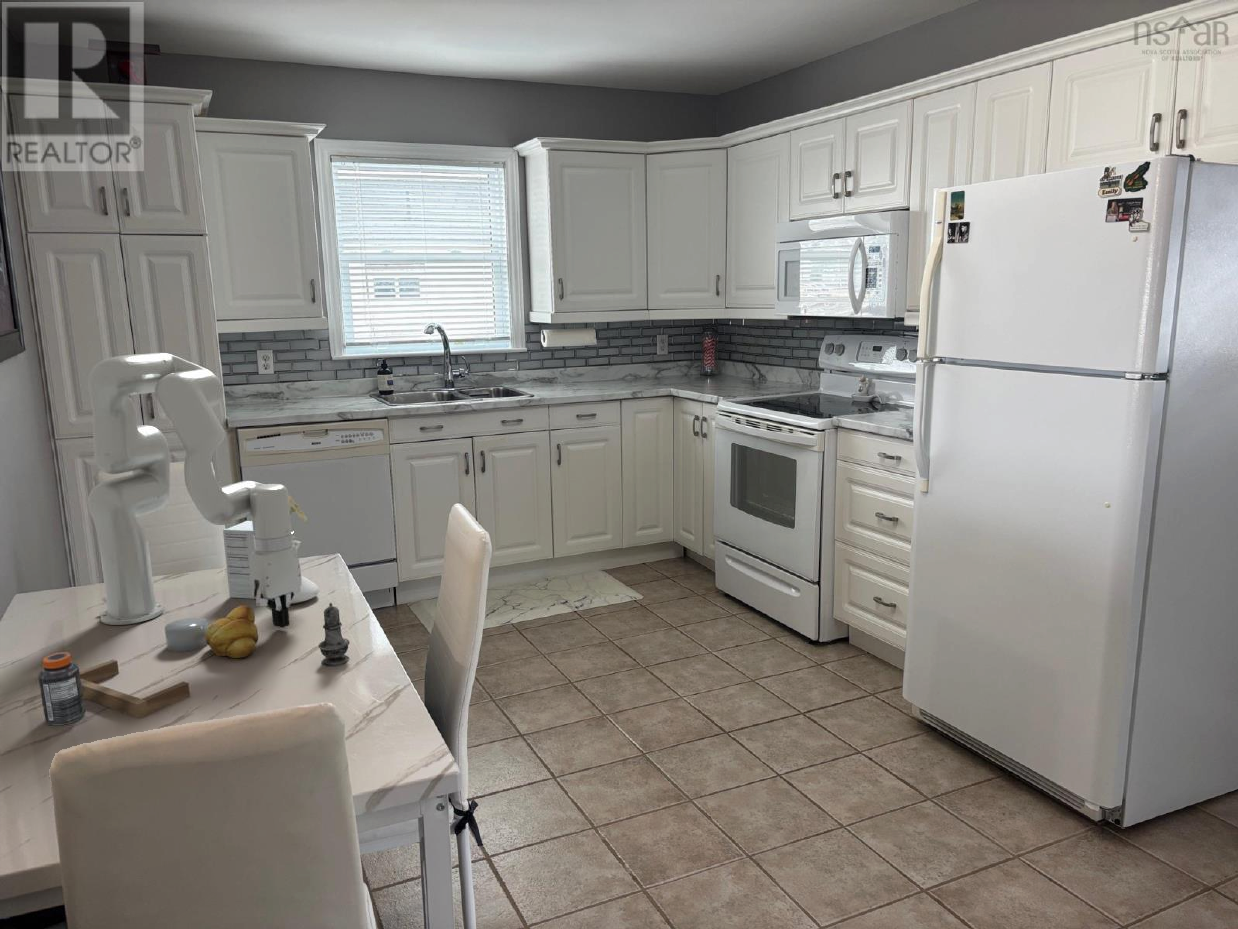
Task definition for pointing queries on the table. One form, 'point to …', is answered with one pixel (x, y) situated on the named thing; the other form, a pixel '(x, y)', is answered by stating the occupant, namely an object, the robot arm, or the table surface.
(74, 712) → the pill bottle
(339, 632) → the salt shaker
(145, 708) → the brown angled bar
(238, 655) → the bread roll
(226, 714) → the table surface
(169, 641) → the grey glossy rounded piece
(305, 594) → the flower in vase
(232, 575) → the supplement box
